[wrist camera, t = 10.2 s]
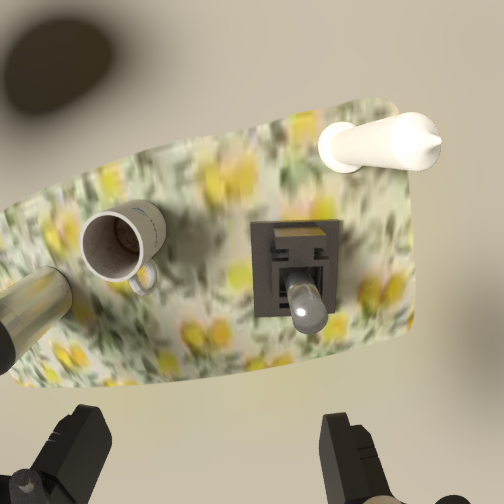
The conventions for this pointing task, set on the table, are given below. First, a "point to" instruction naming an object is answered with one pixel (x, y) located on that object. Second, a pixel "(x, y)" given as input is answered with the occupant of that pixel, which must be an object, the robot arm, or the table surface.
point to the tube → (304, 300)
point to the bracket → (292, 261)
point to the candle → (381, 144)
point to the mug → (124, 243)
